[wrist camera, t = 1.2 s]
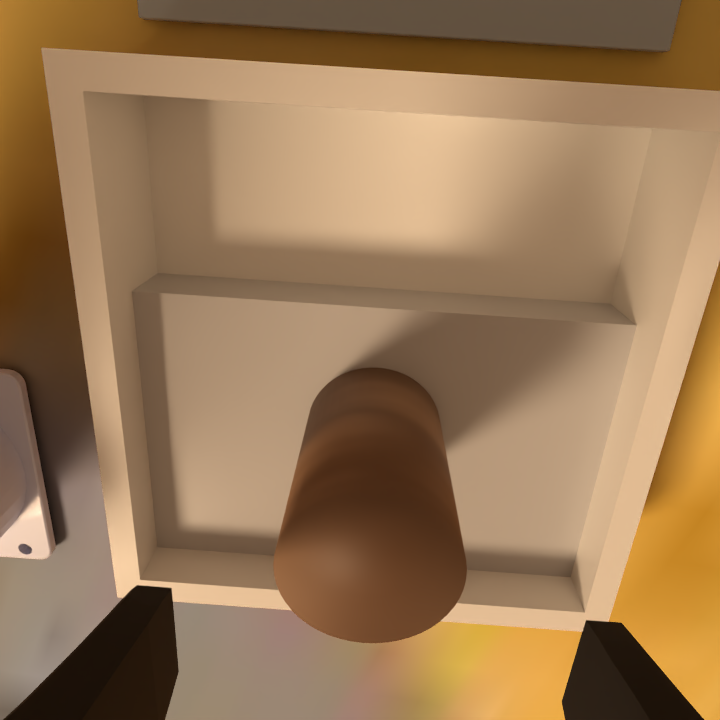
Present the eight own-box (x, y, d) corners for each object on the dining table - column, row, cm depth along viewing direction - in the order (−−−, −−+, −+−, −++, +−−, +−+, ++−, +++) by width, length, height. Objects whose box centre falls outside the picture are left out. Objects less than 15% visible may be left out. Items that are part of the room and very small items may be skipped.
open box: (161, 517, 22) (117, 597, 18) (119, 62, 16) (41, 47, 12) (567, 546, 22) (604, 633, 18) (680, 99, 16) (771, 93, 12)
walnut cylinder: (306, 478, 18) (273, 636, 13) (309, 362, 17) (273, 484, 11) (432, 487, 18) (454, 649, 13) (447, 372, 17) (479, 499, 11)
